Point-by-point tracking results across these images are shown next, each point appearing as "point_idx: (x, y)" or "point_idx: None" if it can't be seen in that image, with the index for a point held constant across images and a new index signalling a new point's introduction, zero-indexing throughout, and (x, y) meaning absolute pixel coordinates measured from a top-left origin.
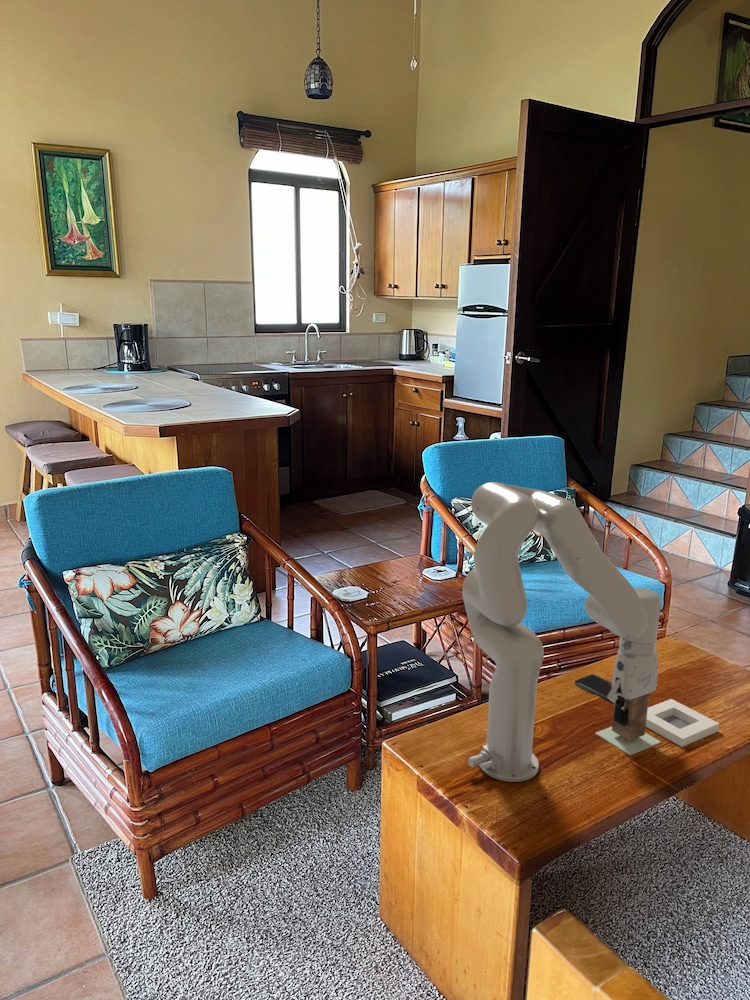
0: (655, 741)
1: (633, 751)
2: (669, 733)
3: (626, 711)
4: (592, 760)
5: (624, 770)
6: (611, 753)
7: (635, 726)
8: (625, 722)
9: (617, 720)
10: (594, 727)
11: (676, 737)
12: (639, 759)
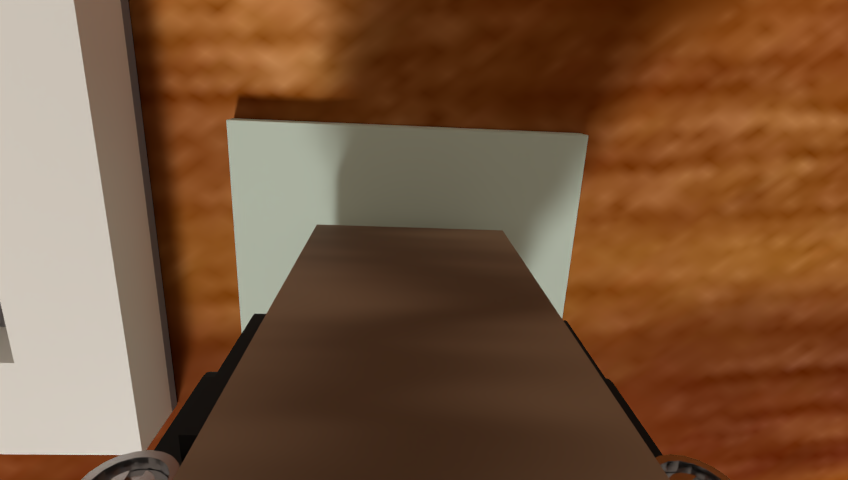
0: (265, 147)
1: (532, 151)
2: (101, 115)
3: (638, 430)
4: (811, 245)
5: (766, 42)
6: (642, 234)
7: (457, 271)
8: (578, 339)
9: None
10: None
11: (91, 32)
12: (552, 74)
